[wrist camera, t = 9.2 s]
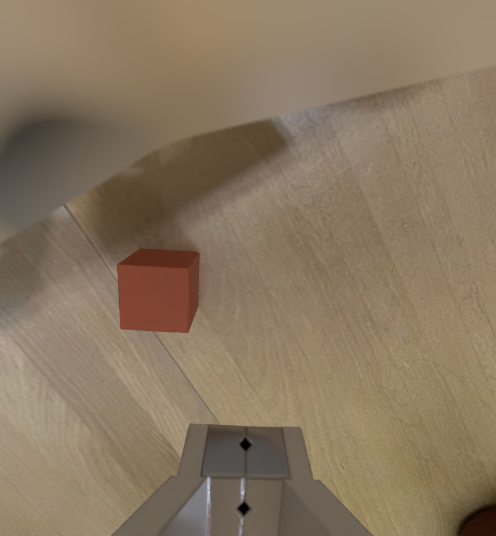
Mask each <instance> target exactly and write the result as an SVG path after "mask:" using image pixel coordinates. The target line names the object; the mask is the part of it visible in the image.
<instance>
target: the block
mask: <svg viewBox="0 0 496 536" xmlns="http://www.w3.org/2000/svg"><path fill="white" fill-rule="evenodd" d="M117 270H118V289H119V309H120V328H121V329H126V330H144V331H163V332H181V333H188V332H189V329H190V326H191V324H192V321H193V319H194V316H195V313H196V311H197V308H198V288H199V252H185V251H168V250H151V249H139V250H138V251H136V252H135V253H133V254H132V255H130V256H129V257H127V258H126V259H125V260H123V261H122V262H120V263H119V264H117Z"/></svg>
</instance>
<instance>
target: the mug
mask: <svg viewBox="0 0 496 536" xmlns="http://www.w3.org/2000/svg"><path fill="white" fill-rule="evenodd" d="M461 536H496V508H494V509H488V510H484V511H482V512H480V513H478V514H476V515H475V516H473V517H472V518H471V519H470V520H469V521H468V522H467V523H466V525H465V527H464V529H463V531H462V534H461Z"/></svg>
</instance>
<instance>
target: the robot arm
mask: <svg viewBox="0 0 496 536" xmlns="http://www.w3.org/2000/svg"><path fill="white" fill-rule="evenodd" d="M111 536H373V535H372V534H371V533H370V532H369V531H368V530H367V529H366V528H365V527H364V526H363V525H362V524H361V523H360V522H359V521H358V519H357V518H356V517H355V516H354V515H353V514H352V513H351V512H350V511H349V510H348V509H347V508H346V507H345V506H344V505H343V504H342V503H341V502H340V501H339V500H338V499H337V498H336V497H335V496H334V494H333V493H332V492H331V491H330V490H329V489H328V488H327V487H326V486H325V485H324V484H323V483H322V482H321V481H320V480H314V479H313V475H312V471H311V467H310V463H309V458H308V454H307V450H306V446H305V442H304V438H303V433H302V429H301V428H300V427H259V426H233V425H216V424H209V425H208V424H191V423H190V425H189V427H188V431H187V435H186V440H185V444H184V448H183V453H182V457H181V461H180V466H179V470H178V475H177V476H171V477H170V478H169V479H168V480H167V481H166V482H165V483H164V484H163V485H162V486H161V487H160V488H159V489H158V490H157V491H155V492H154V493H153V494H152V495H151V496H150V497H149V498H148V499H147V500H146V501H145V502H144V503H143V504H142V505H141V506H140V507H139V508H138V509H137V510H136V511H135V512H134V513H133V514H132V515H131V516H130V517H129V518H128V519H127V520H126V521H125V522H124V523H123V524H122V525H121V526H120V527H119V528H118V529H117V530H116V531H115V532H114V533H113V534H112V535H111Z"/></svg>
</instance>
